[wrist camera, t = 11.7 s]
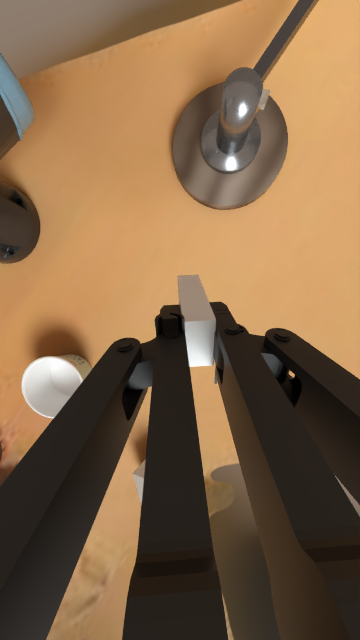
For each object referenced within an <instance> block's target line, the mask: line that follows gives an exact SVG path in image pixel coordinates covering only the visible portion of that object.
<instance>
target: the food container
mask: <svg viewBox="0 0 360 640" xmlns="http://www.w3.org/2000/svg"><path fill="white" fill-rule="evenodd" d="M91 370H92V368H91V366H90V364H89V363H88V362H87V361H86V360H85V359H84V358H82V357H81V356H78V355H74V354H68V355H62V356H45V357H41V358H38V359H36V360H35V361H33V362H32V363H31V364H30V365H29V366H28V367H27V368H26V370H25V372H24V374H23V377H22V392H23V396H24V398H25V400H26V402H27V403H28V405H29V406H30V407H31V408H32V409H33V410H34V411H35V412H37V413H38V414H40V415H42V416H45V417H48V418H54V417H55V416H56V415H57V414H58V412H59V411H60V410H61V409H62V407H63V406H64V405H65V403H66V402H67V401H68V400H69V398H70V397H71V396H72V394H73V393H74V392H75V391H76V389H77V388H78V387H79V386H80V384H81V383H82V382H83V380H84V379H85V378H86V377H87V375H88V374H89V373H90V371H91Z"/></svg>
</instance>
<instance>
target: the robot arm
mask: <svg viewBox="0 0 360 640" xmlns="http://www.w3.org/2000/svg"><path fill="white" fill-rule="evenodd" d="M33 120H34V109H33V105H32V103H31V101H30V99H29V97H28V95H27V93H26V91H25V90H24V88H23V86H22V85H21V83H20V82H19V80H18V79H17V77H16V75H15V74H14V72H13V71H12V70H11V68H10V66H9V65H8V63H7V62H6V60H5V59H4V57H3V56H2V54H1V53H0V160H1V159H2V157H3V156H4V155H5V154H6V153H7V152H8V151H9V150H10V149H11V148H12V147H13V146H14V145H15V144H16V143H17V142H18V141H21V140H22V138H23V134H24V133H25V131H26V130H27V129H28V128H29V126H30V125H31V124H32V123H33ZM39 234H40V222H39V217H38V213H37V211H36V208H35V207H34V205H33V203H32V202H31V201H30V199H29V198H28V197H27V196H26V195H25V194H23V193H22V192H20V191H19V190H17V189H16V188H14V187H13V186H11V185H9V184H7V183H4V182H2V181H0V263H6V264H8V263H15V262H18V261H21V260H22V259H24V258H26V257H27V256H28V255H29V254H30V253H31V252H32V251H33V249H34V248H35V246H36V244H37V241H38V238H39ZM178 296H179V305H165V306H163V307H162V308H161V310H160V314H159V315H158V316H156V318H155V327H156V337H155V338H154V339H153V340H151V341H148V342H145V343H142V344H140V342H139V341H138V340H137V339H135V338H123V339H120V340H118V341H116V342H114V343H113V344H112V345H111V346H110V347H109V348H108V350H107V351H106V352H105V354H104V355H103V356H102V357H101V359H100V360H99V361H98V362H97V364H96V365H95V366H94V368H93V369H92V370H91V371H90V373H89V374H88V375H87V377H86V378H85V379H84V380H83V382H82V383H81V384H80V386H79V387H78V388H77V389H76V391H75V392H74V393H73V394H72V396H71V397H70V398H69V400H68V401H67V402H66V403H65V405H64V406H63V407H62V409H61V410H60V411H59V412H58V414H57V415H56V416H55V417H54V419H53V420H52V421H51V423H50V424H49V425H48V426H47V428H46V429H45V430H44V432H43V433H42V434H41V435H40V437H39V438H38V439H37V440H36V442H35V443H34V444H33V446H32V447H31V448H30V449H29V451H28V452H27V453H26V455H25V456H24V457H23V458H22V460H21V461H20V462H19V464H18V465H17V466H16V467H15V469H14V470H13V471H12V472H11V474H10V475H9V476H8V478H7V479H6V480H5V481H4V483H3V484H2V485H1V487H0V640H46V638H47V636H48V633H49V631H50V629H51V626H52V624H53V621H54V619H55V616H56V614H57V611H58V609H59V606H60V604H61V601H62V599H63V597H64V594H65V592H66V589H67V587H68V584H69V582H70V579H71V577H72V574H73V572H74V570H75V567H76V565H77V562H78V560H79V557H80V555H81V552H82V550H83V547H84V545H85V542H86V540H87V538H88V535H89V533H90V530H91V528H92V525H93V523H94V520H95V518H96V515H97V513H98V511H99V508H100V506H101V503H102V501H103V498H104V496H105V493H106V491H107V488H108V486H109V483H110V481H111V479H112V476H113V474H114V471H115V469H116V466H117V464H118V461H119V459H120V456H121V454H122V452H123V449H124V447H125V444H126V442H127V439H128V437H129V434H130V432H131V429H132V427H133V424H134V422H135V420H136V417H137V415H138V412H139V410H140V407H141V405H142V402H143V400H144V397H145V395H146V393H147V389H148V387H150V386H152V392H151V403H150V415H149V426H148V437H147V449H146V460H145V472H144V483H143V494H142V506H141V517H140V528H139V540H138V550H137V557H136V563H135V566H134V570H133V573H132V576H131V580H130V585H129V591H128V596H127V603H126V611H125V619H124V628H123V637H122V640H228V635H227V627H226V620H225V613H224V606H223V599H222V593H221V586H220V581H219V576H218V570H217V566H216V561H215V557H214V551H213V545H212V538H211V532H210V531H211V530H210V523H209V515H208V507H207V499H206V491H205V484H204V476H203V468H202V460H201V453H200V445H199V437H198V429H197V422H196V414H195V406H194V398H193V390H192V383H191V375H190V367H194V366H210V365H214V360H215V363H216V368H215V384H217V381H218V384H219V388H220V392H221V395H222V399H223V403H224V407H225V410H226V414H227V418H228V421H229V425H230V429H231V433H232V436H233V440H234V444H235V448H236V451H237V455H238V459H239V462H240V466H241V470H242V474H243V477H244V481H245V484H246V488H247V492H248V496H249V500H250V503H251V507H252V511H253V515H254V518H255V522H256V526H257V529H258V533H259V537H260V540H261V544H262V548H263V552H264V555H265V559H266V563H267V567H268V571H269V575H270V581H271V591H272V601H273V607H274V612H275V617H276V621H277V626H278V630H279V634H280V637H281V640H360V517H359V515H358V513H357V512H356V510H355V508H354V507H353V505H352V504H351V502H350V500H349V499H348V497H347V495H346V493H345V492H344V490H343V489H342V487H341V485H340V484H339V482H338V480H337V479H336V477H337V478H338V479H339V480H340V482H341V483H342V484H343V485H344V487H345V488H346V489H347V490H348V491H349V493H350V494H351V495H352V496H353V497H354V499H355V500H356V501H357V502H358V503H359V505H360V379H358V378H357V377H355V376H354V375H353V374H351V373H350V372H348V371H347V370H346V369H344V368H343V367H341V366H340V365H338V364H337V363H336V362H334V361H333V360H331V359H330V358H329V357H327V356H326V355H324V354H323V353H322V352H320V351H319V350H317V349H316V348H314V347H313V346H312V345H310V344H309V343H307V342H306V341H305V340H303V339H302V338H300V337H299V336H297V335H296V334H295V333H293V332H291V331H289V330H286V329H282V328H272V329H269V330H268V331H267V332H266V334H265V336H258V335H252V334H249V333H248V331H247V329H246V328H245V327H243V326H242V325H240V324H237V323H236V322H235V320H234V318H233V316H232V314H231V313H230V311H229V309H228V307H227V305H225V304H224V303H222V302H209V301H208V298H207V296H206V293H205V291H204V288H203V286H202V283H201V281H200V278H199V276H198V275H183V276H178ZM289 370H290V371H292V372H293V373H294V374H295V377H294V378H293V377H292V376H290V375H289V374H288V373H289ZM333 473H334V474H335V475H334V474H333ZM335 476H336V477H335Z"/></svg>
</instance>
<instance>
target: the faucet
mask: <svg viewBox="0 0 360 640" xmlns="http://www.w3.org/2000/svg"><path fill="white" fill-rule="evenodd" d="M318 1H319V0H299V1H298V2H297V4H296V5H295V7H294V8H293V10H292V11H291V13H290V14H289V16H288V17H287V19H286V20H285V22H284V23H283V25H282V26H281V28H280V29H279V31H278V32H277V34H276V35H275V37H274V38H273V40H272V42H271V43H270V45H269V46H268V48H267V49H266V51H265V52H264V54H263V55H262V57H261V58H260V60H259V61H258V63H257V64H256V66H255V67H254V69H251V68H246V67H245V68H239V69H236V70H235V71H233V72H232V73H231V74H230V75H229V76H228V77H227V79H226V81H225V84H224V89H223V96H222V102H221V109H220V110H218V111H216V112H215V113H214V114H213V115H212V116H211V117H210V118H209V119H208V120H207V122H206V124H205V126H204V128H203V131H202V136H201V151H202V155H203V158H204V160H205V161H206V163H207V164H208V165H209V166H210V167H211V168H212V169H213V170H215V171H217V172H219V173H223V174H234V173H237V172H240V171H242V170H244V169H245V168H246V167H248V166H249V165H250V164H251V162H252V161H253V160H254V158H255V156H256V154H257V152H258V149H259V147H260V142H261V130H260V126H259V123H258V121H257V120H256V118H255V117H254V116H255V113H256V110H257V107H258V104H259V101H260V98H261V95H262V91H263V82H264V80H265V79H266V78H267V76H268V75H269V73H270V72H271V70H272V69H273V67H274V66H275V64H276V63H277V61H278V60H279V58H280V57H281V55H282V54H283V52H284V51H285V49H286V48H287V46H288V45H289V43H290V42H291V41H292V39H293V38H294V36H295V35H296V33H297V32H298V30H299V29H300V27H301V26H302V24H303V23H304V21H305V20H306V18H307V17H308V15H309V14H310V12H311V11H312V9H313V8H314V7H315V5H316V4H317V2H318Z"/></svg>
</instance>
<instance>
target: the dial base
mask: <svg viewBox="0 0 360 640" xmlns="http://www.w3.org/2000/svg"><path fill="white" fill-rule="evenodd" d="M224 84H225V83H221V84H217V85H214V86H212V87H209V88H207V89H206V90H204V91H202V92H201V93H200V94H198V95H197V96H196V97H195V98H194V99H193V100H192V101H191V102H190V103H189V104H188V105H187V107H186V108H185V109H184V111H183V112H182V114H181V116H180V118H179V120H178V123H177V125H176V128H175V132H174V138H173V158H174V165H175V170H176V173H177V176H178V179H179V181H180V183H181V185H182V186H183V188H184V189H185V191H186V192H187V193H188V194H189V195H190V196H191V197H192V198H193V199H194V200H196V201H197V202H199V203H201V204H203V205H205V206H207V207H210V208H213V209H219V210H230V209H236V208H240V207H243V206H246V205H248V204H250V203H252V202H253V201H255V200H256V199H258V198H259V197H260V196H261V195H262V194H264V193H265V192H266V190H267V189H268V188H269V187H270V185H271V184H272V183H273V181H274V180H275V178H276V177H277V175H278V174H279V172H280V170H281V168H282V166H283V163H284V160H285V157H286V152H287V145H288V133H287V126H286V123H285V119H284V116H283V114H282V112H281V110H280V108H279V107H278V105H277V104H276V102H275V101H274V100H273V99H272V98H271V97H270V96H269V93H270V90H265V89H263V91H262V95H261V98H260V101H259V104H258V107H257V110H256V113H255V116H254V117H255V118H256V120H257V121H258V123H259V126H260V130H261V142H260V147H259V149H258V152H257V154H256V156H255V158H254V160H253V161H252V162H251V164H250V165H249V166H248V167H246V168H245V169H244V170H242V171H240V172H237V173H234V174H223V173H219V172H217V171H215V170H213V169H212V168H211V167H210V166H209V165H208V164H207V163H206V161H205V160H204V158H203V155H202V151H201V136H202V131H203V128H204V126H205V124H206V122H207V120H208V119H209V118H210V117H211V116H212V115H213V114H214V113H215V112H216V111H218V110H220V109H221V102H222V96H223V89H224Z"/></svg>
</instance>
